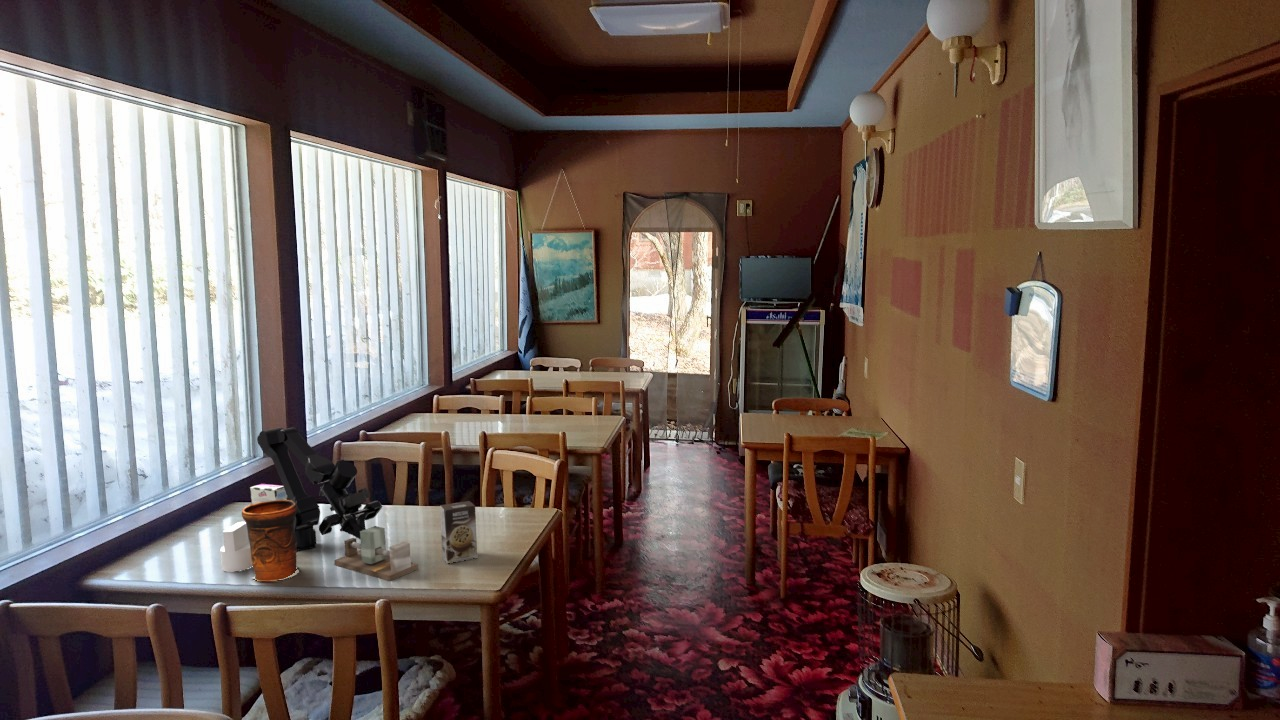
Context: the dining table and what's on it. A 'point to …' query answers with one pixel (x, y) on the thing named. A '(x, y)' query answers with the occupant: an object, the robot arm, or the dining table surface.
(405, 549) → the rod stand
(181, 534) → the dining table surface
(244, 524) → the base with upright slab
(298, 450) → the robot arm
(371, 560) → the sleeve
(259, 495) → the candy bar box
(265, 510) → the vessel
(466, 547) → the coffee box
